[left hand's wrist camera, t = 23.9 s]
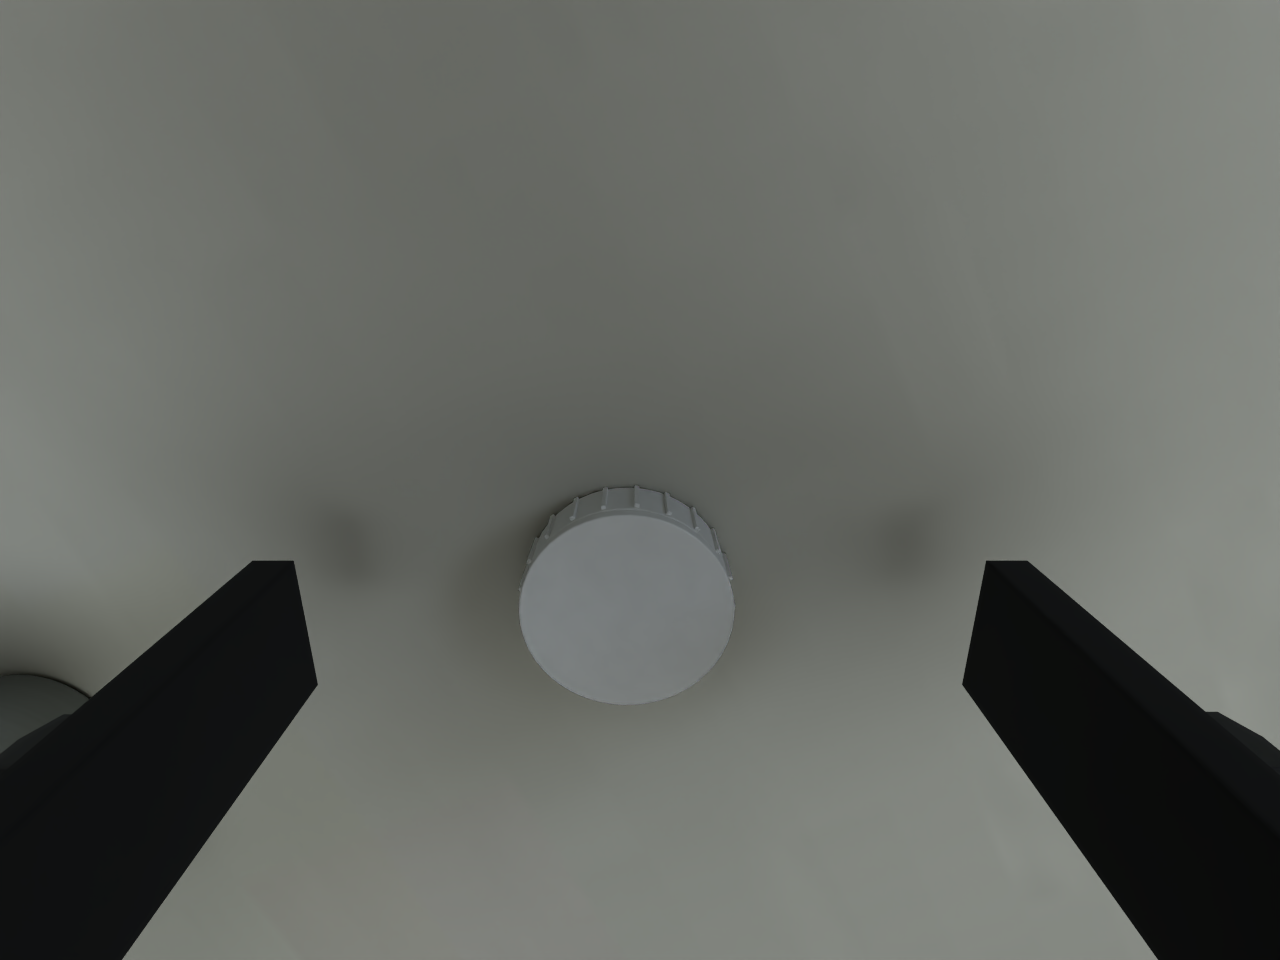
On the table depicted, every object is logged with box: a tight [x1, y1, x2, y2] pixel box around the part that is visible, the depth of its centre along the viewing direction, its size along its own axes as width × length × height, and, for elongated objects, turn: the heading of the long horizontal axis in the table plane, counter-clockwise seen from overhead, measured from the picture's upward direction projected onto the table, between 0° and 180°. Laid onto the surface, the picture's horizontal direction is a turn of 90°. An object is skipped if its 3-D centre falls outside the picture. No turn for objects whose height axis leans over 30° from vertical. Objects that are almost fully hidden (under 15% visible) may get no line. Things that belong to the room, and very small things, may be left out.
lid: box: [518, 485, 736, 705], centre depth 15 cm, size 5×5×2 cm
